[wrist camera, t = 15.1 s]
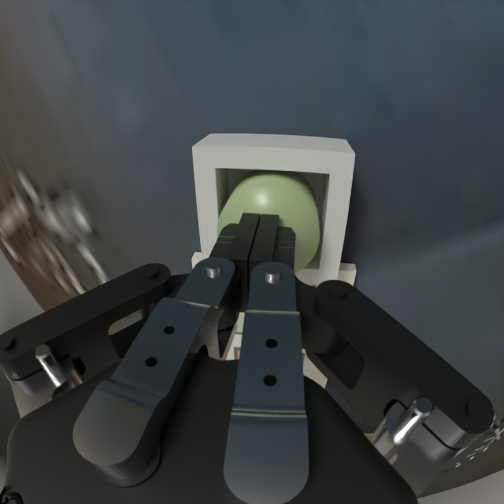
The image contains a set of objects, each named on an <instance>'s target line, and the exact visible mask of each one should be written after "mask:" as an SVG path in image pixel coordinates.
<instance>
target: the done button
mask: <svg viewBox="0 0 504 504" xmlns="http://www.w3.org/2000/svg"><path fill="white" fill-rule="evenodd" d="M243 213H258V214H261V215H262V214H274V215H279V226H280V227H291V228H292V229H293V231H294V232H295V234H296V240H295V261H294V273H297V272H298V271H300V270H302V269H303V268H304V267H305V266H307V265H308V264H309V262H310V261H311V260H312V259H313V257H314V256H315V254H316V252H317V249H318V246H319V241H320V230H319V219H318V208H317V200H316V196H315V193H314V191H313V189H312V187H311V186H310V184H309V183H308V182H307V181H306V180H305V179H304V178H303V177H302V176H301V175H299V174H298V173H296V172H294V171H283V170H263V169H255V170H253V171H251V172H249V173H248V174H246V175H245V176H244V177H243V178H242V179H241V180H240V181H239V182H238V184H237V185H236V187H235V189H234V190H233V192H232V194H231V196H230V198H229V199H228V201H227V203H226V205H225V207H224V208H223V210H222V212H221V214H220V217H219V220H218V224H217V237H219V234H220V232H221V230H222V228H224V227H225V226H226V225H228V224H229V223H237V224H239V221H240V219H241V216H242V214H243Z"/></svg>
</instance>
